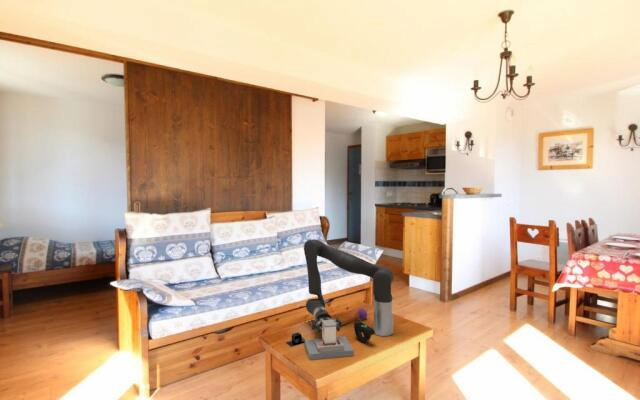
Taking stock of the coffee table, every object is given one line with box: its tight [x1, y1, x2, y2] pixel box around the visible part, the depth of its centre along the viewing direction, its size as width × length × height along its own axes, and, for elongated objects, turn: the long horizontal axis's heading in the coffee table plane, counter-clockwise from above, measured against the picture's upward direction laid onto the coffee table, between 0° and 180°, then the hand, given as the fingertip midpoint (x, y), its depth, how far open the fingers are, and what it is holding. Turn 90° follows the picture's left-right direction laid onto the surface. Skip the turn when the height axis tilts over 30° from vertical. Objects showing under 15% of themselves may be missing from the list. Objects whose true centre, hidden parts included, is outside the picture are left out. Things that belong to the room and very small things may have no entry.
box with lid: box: [321, 319, 337, 346], centre depth 154 cm, size 5×6×11 cm
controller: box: [353, 319, 375, 343], centre depth 164 cm, size 4×12×10 cm, turn 35°
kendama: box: [340, 308, 368, 327], centre depth 189 cm, size 6×6×20 cm
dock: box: [304, 336, 355, 361], centre depth 156 cm, size 20×14×5 cm
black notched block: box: [285, 331, 306, 348], centre depth 164 cm, size 12×7×5 cm, turn 123°
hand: (329, 330), depth 154 cm, fingers open, 8 cm apart
